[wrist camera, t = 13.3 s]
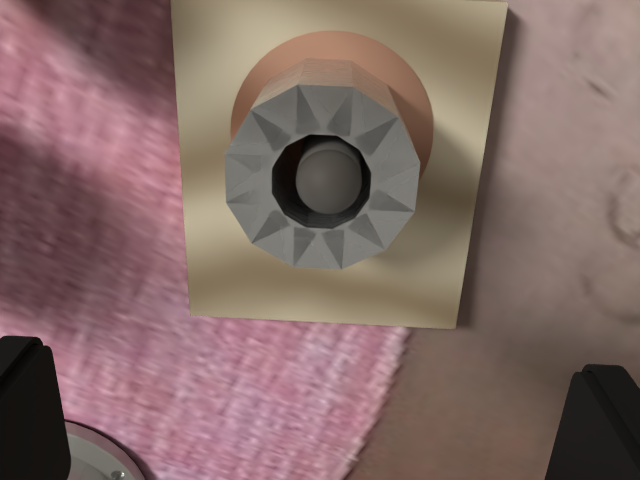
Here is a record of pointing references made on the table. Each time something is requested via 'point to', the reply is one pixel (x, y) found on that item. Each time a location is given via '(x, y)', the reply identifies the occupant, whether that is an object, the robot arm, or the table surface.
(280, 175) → the steel collar
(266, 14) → the hub board
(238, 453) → the table surface
